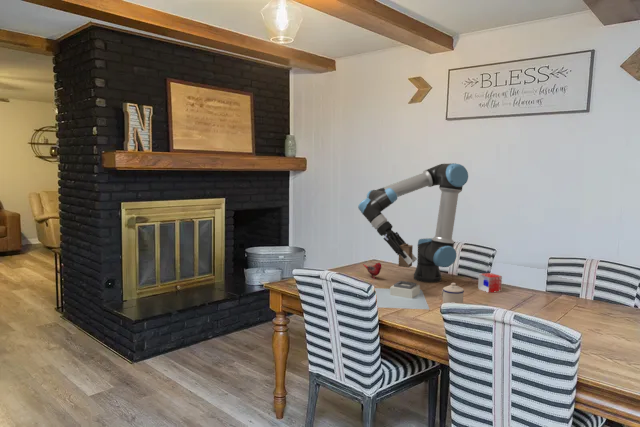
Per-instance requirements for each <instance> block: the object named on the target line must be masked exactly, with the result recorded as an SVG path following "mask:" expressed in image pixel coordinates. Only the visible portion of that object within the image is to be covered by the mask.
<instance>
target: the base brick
mask: <svg viewBox="0 0 640 427" xmlns="http://www.w3.org/2000/svg"><path fill="white" fill-rule="evenodd" d="M389 289H390V295H393V296H399V297H405V298H411V299H412V298H413V297H415V296H416V295H418V294H419V293H420V290H421V285H420V284H417V282H411V281H406V280H399V281H397V282H396V283H394V284H393V285H391V286H390V287H389Z"/></svg>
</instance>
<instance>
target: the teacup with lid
mask: <svg viewBox="0 0 640 427" xmlns="http://www.w3.org/2000/svg"><path fill="white" fill-rule="evenodd" d="M464 292H465V290H464V288H463V287H461V286H459V285H457V283H455V282H452V283H450V285H447V286H444V287H443V288H442V290H441V297H442V304H443V303H446V302H455V303H463V304H464Z"/></svg>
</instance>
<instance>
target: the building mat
mask: <svg viewBox="0 0 640 427" xmlns="http://www.w3.org/2000/svg"><path fill="white" fill-rule="evenodd" d="M374 288H375V291H376V295H377V306H378V307H377V308H381V309H383V308H385V309H411V310H412V309H413V310H428V312H430V307H429V304H428V303H427V300H426V297H425V295H424V292H423V289H420V293H419V294H418V295H416V296H415V297H413V298H412V299H411V298H405V297H399V296H393V295H390V288H381V287H380V288H376V287H374Z"/></svg>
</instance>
